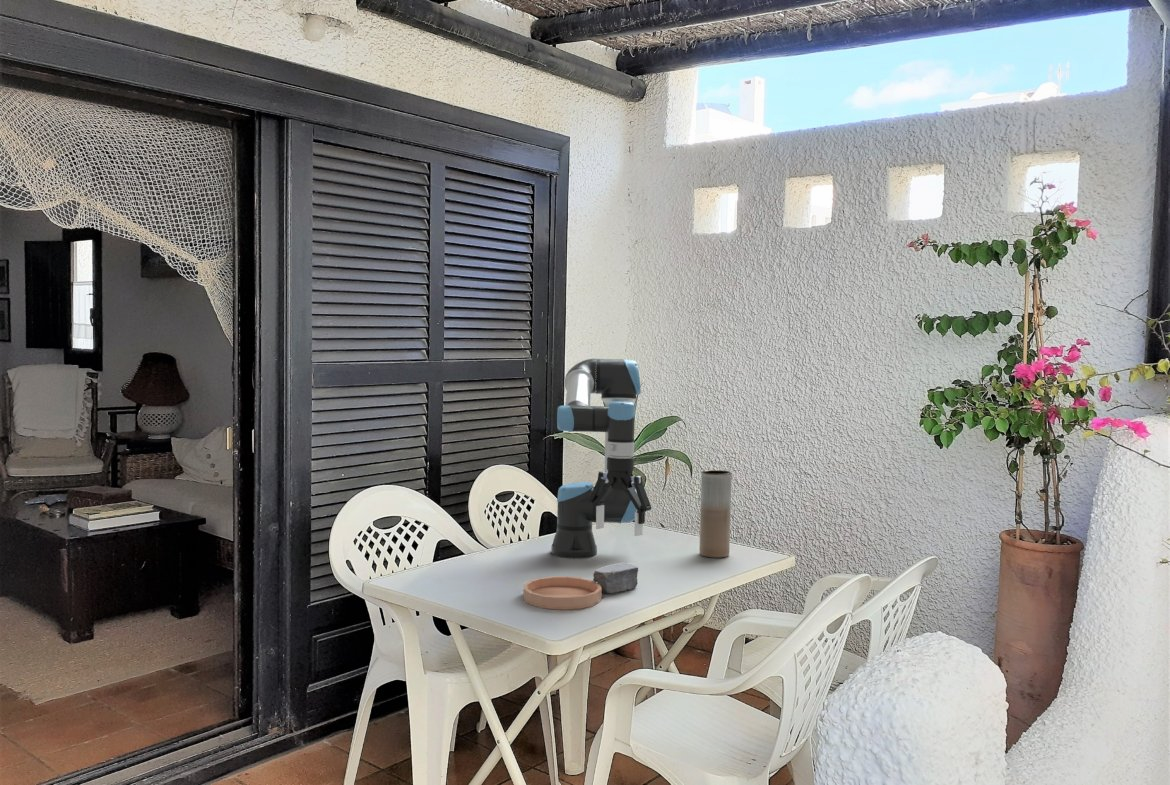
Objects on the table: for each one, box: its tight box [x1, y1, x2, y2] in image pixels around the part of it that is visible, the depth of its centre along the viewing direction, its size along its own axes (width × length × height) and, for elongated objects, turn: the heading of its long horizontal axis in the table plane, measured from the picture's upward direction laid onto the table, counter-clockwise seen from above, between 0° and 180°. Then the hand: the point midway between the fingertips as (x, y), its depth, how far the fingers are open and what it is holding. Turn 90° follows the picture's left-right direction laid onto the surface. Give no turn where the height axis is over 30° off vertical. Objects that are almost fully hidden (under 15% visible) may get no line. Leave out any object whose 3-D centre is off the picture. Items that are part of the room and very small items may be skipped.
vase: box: [698, 469, 732, 559], centre depth 294 cm, size 10×10×28 cm
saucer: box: [522, 576, 603, 611], centre depth 241 cm, size 21×21×3 cm
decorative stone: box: [592, 562, 639, 596], centre depth 251 cm, size 15×7×10 cm
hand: (618, 531), depth 250 cm, fingers open, 13 cm apart
